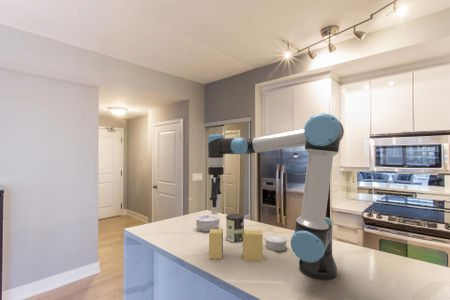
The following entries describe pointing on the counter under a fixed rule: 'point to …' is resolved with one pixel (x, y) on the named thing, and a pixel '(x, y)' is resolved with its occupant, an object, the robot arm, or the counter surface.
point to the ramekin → (276, 242)
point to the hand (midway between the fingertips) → (216, 210)
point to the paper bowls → (207, 222)
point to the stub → (215, 243)
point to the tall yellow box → (252, 245)
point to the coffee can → (234, 228)
